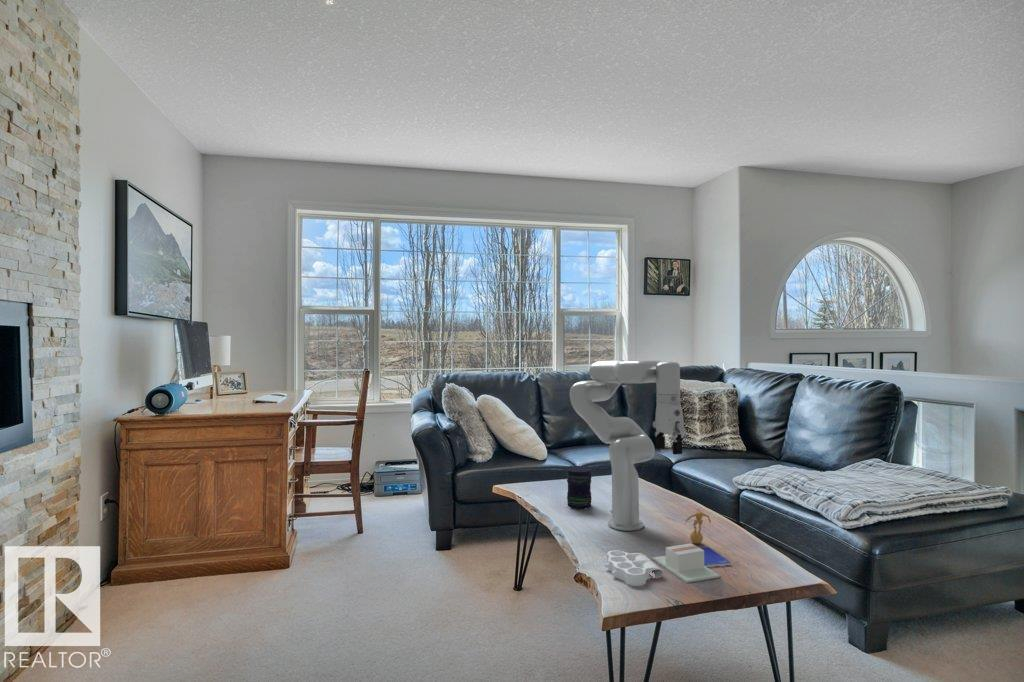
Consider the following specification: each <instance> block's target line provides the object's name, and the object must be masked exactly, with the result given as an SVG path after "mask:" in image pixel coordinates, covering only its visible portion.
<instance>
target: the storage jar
mask: <svg viewBox="0 0 1024 682" xmlns="http://www.w3.org/2000/svg"><path fill="white" fill-rule="evenodd" d="M566 471H567V472H566V481H567V492H566V493H567V495H566V500H567V501H566V502H567V504H566V505H568V506H569V507H571V508H570V509H572V508H575V509H574V510H586V509H585V508H588V509H590V508H591V507H592V492H591V485H592V469H591V468H590V467H588V466H582V465H581V466H580V465H579V466H578V465H577V466H570V467H567V468H566ZM568 506H567V507H568ZM569 507H568V508H569ZM589 507H590V508H589Z"/></svg>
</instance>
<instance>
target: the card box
mask: <svg viewBox="0 0 1024 682" xmlns="http://www.w3.org/2000/svg"><path fill="white" fill-rule="evenodd" d="M665 556H666V565H668V566H669V567H671V568H673V569H674V570H676V571H677V572H683V571H688V570H694V569H699V568H704V550H703V549H701V547H698V546H697V545H695V544H694V543H691V542H690V543H684V544H678V545H672V546H671V545H670V546H665Z"/></svg>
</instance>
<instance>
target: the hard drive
mask: <svg viewBox="0 0 1024 682" xmlns="http://www.w3.org/2000/svg"><path fill="white" fill-rule="evenodd" d="M700 548H701V549H703V550H704V566H706V567H708V568H716V567H715V566H720V567H726V566H725V565H731V566H732V562H731V561H730V560H728V559H727V558H725V557H724V556H722V555H721V554H719V553H718V552H716V551H715V550H714V549H712V548H710V547H709V546H703V547H701V546H700Z"/></svg>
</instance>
